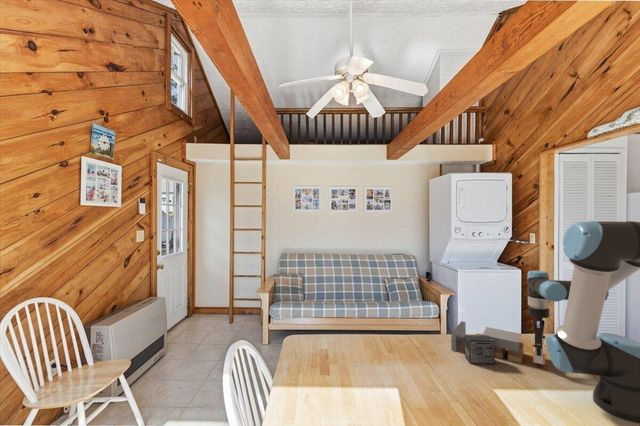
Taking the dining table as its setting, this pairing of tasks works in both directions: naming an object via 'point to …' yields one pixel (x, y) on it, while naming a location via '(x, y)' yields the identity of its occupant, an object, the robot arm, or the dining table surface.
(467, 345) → the small box
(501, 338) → the slab
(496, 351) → the bed
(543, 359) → the block
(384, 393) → the dining table surface
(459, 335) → the bar
